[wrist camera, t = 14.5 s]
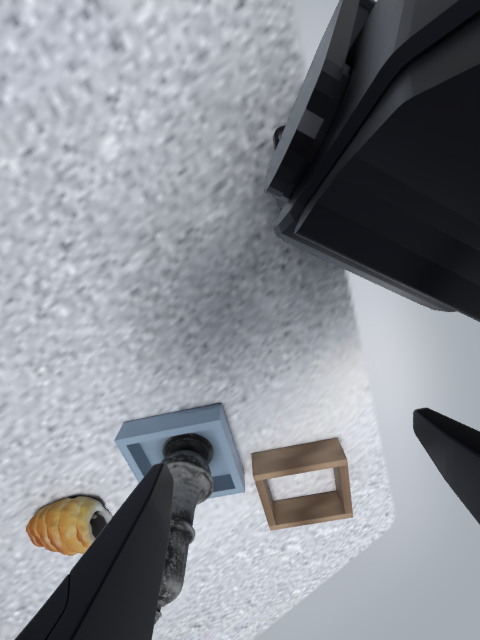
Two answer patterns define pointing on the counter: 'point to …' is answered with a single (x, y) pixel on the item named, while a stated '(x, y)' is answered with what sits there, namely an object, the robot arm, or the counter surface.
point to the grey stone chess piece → (183, 505)
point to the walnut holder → (300, 462)
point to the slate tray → (151, 433)
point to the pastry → (68, 525)
